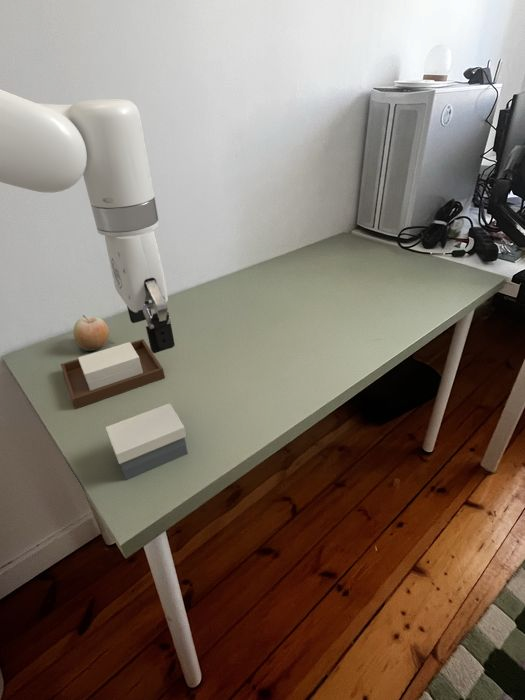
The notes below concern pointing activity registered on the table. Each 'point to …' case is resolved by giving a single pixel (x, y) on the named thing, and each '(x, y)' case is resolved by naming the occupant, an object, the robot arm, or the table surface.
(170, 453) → the grey book lower
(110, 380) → the white book lower
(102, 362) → the white book upper
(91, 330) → the fruit
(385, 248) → the table surface
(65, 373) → the book tray
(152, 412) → the white book
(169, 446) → the grey book upper
